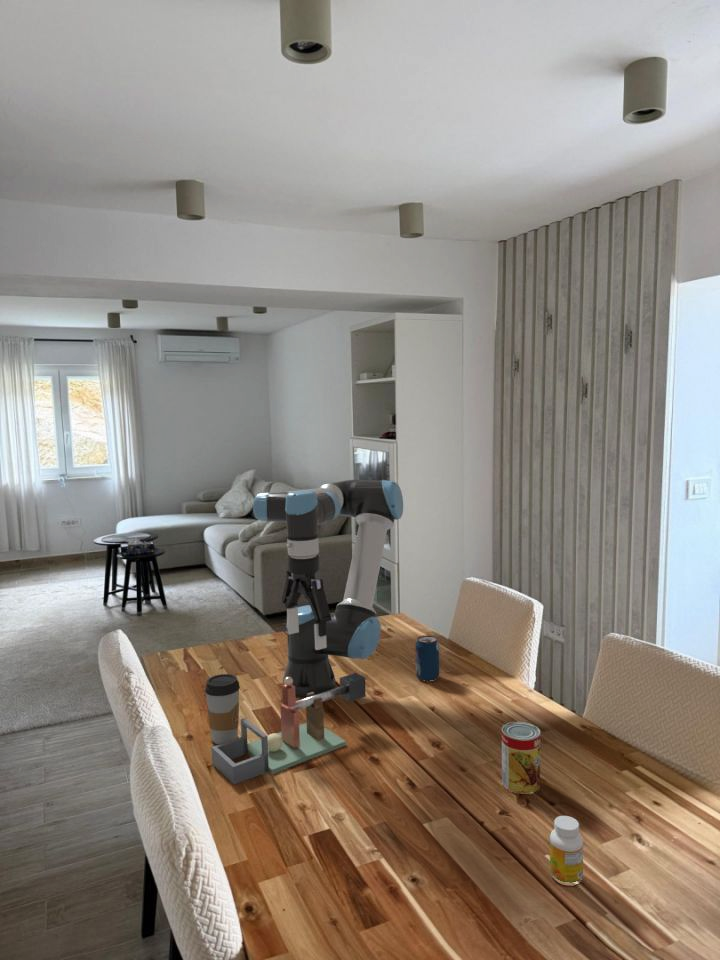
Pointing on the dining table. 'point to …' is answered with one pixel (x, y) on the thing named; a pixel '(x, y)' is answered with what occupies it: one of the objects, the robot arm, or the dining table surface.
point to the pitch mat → (295, 756)
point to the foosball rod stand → (348, 690)
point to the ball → (274, 742)
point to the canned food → (521, 757)
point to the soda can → (427, 658)
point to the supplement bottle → (566, 850)
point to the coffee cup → (223, 707)
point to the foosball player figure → (315, 718)
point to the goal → (238, 748)
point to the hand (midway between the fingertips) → (306, 640)
